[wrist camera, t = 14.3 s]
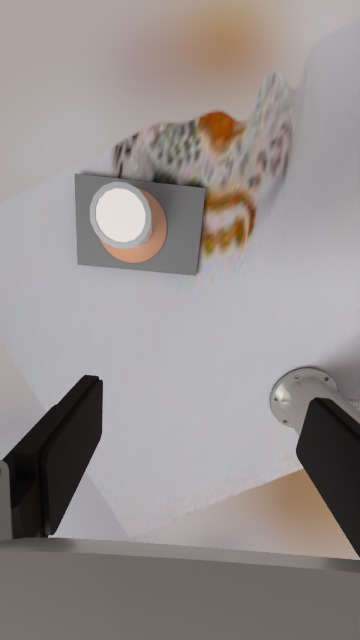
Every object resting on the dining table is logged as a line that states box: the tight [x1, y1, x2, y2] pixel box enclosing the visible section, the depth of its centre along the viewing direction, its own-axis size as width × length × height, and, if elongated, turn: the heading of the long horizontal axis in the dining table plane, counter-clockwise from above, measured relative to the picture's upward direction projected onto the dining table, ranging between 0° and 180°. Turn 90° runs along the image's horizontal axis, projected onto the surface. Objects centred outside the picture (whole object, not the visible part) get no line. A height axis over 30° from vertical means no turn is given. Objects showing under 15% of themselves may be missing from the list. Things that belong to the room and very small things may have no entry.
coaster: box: [100, 188, 167, 263], centre depth 30 cm, size 10×10×1 cm
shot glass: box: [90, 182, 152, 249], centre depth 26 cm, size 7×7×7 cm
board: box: [75, 174, 206, 275], centre depth 31 cm, size 18×12×2 cm, turn 85°
